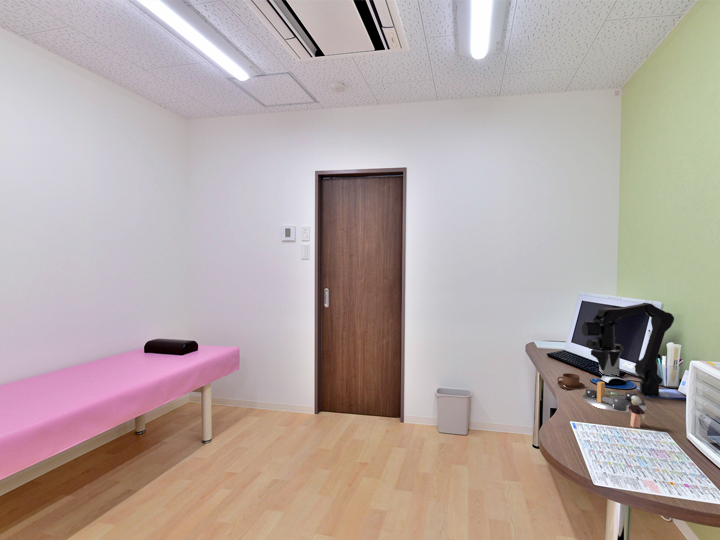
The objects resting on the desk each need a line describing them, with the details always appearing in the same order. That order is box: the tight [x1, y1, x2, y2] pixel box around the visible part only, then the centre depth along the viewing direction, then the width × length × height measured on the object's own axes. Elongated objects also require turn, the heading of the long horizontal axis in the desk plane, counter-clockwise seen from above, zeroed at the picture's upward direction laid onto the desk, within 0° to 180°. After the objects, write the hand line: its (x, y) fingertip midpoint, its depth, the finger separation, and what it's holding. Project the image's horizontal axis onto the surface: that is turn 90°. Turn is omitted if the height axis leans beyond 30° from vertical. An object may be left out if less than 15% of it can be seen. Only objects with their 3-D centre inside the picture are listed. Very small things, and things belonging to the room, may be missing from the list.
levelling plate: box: [582, 388, 648, 413], centre depth 175 cm, size 24×24×5 cm
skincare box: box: [598, 348, 621, 377], centre depth 215 cm, size 8×7×16 cm
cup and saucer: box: [556, 372, 586, 391], centre depth 197 cm, size 12×12×6 cm
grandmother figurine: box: [627, 395, 647, 429], centre depth 150 cm, size 8×4×13 cm, turn 21°
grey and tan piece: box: [596, 381, 627, 410], centre depth 170 cm, size 12×5×8 cm, turn 21°
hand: (607, 368), depth 187 cm, fingers open, 9 cm apart
